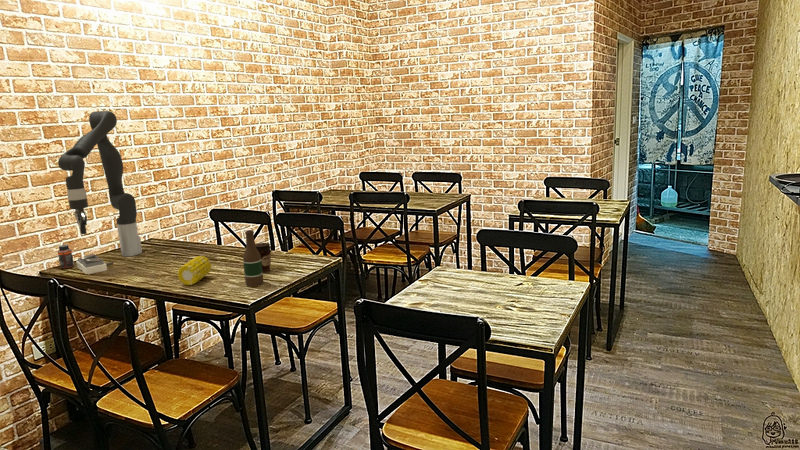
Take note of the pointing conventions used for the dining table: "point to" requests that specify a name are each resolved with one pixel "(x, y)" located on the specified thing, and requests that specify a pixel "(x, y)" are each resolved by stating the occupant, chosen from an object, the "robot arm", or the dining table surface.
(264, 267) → the coffee cup
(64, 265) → the supplement bottle
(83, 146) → the robot arm
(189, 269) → the food
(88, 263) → the rocker
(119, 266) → the dining table surface
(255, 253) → the beer bottle
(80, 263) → the rocker switch panel
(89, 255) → the rocker
